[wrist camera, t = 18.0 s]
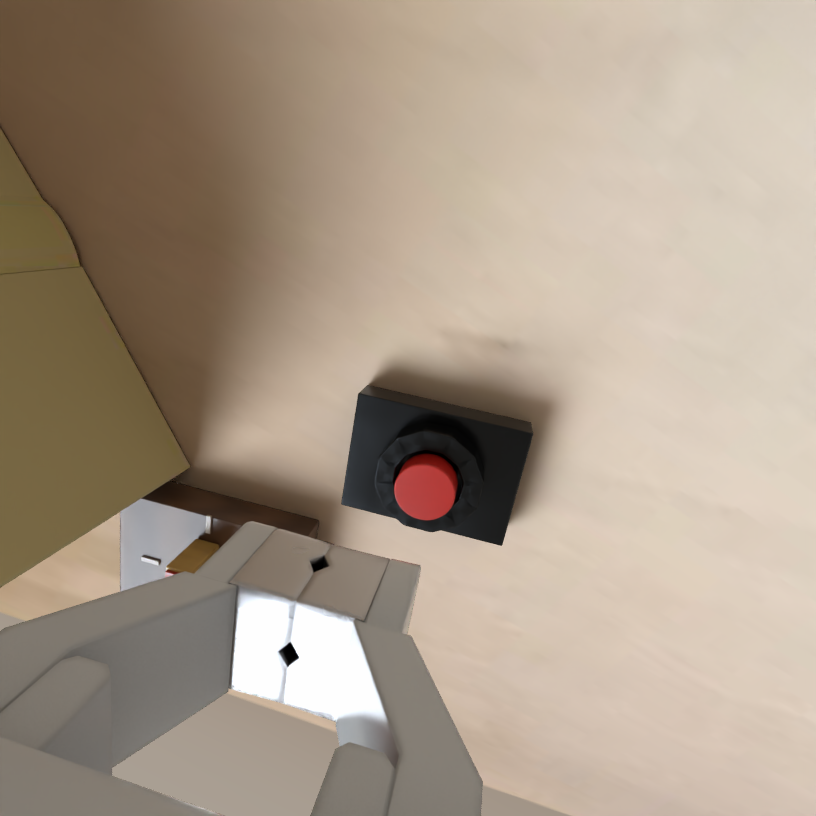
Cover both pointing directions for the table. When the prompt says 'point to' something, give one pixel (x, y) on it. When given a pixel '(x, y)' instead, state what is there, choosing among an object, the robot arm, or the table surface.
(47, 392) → the book
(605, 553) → the table surface
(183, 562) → the thumb turn
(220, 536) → the lock plate
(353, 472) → the black button box
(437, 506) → the set button
